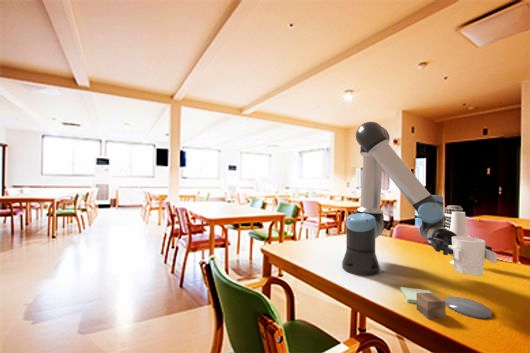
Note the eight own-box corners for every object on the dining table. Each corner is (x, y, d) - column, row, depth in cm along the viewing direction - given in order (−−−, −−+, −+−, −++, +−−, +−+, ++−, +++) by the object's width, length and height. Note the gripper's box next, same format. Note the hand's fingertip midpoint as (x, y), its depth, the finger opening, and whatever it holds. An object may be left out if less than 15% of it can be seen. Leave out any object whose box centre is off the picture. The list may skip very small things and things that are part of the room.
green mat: (407, 302, 76) (407, 299, 76) (400, 289, 85) (400, 286, 85) (440, 306, 74) (440, 303, 74) (429, 293, 82) (429, 290, 82)
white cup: (492, 278, 68) (492, 242, 68) (461, 275, 70) (460, 241, 70) (474, 268, 76) (474, 236, 76) (446, 266, 78) (446, 235, 78)
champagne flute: (467, 267, 108) (467, 213, 108) (448, 263, 112) (448, 212, 112) (468, 263, 113) (468, 212, 113) (450, 259, 117) (450, 210, 117)
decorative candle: (439, 248, 137) (439, 204, 137) (457, 249, 135) (457, 205, 136) (449, 253, 128) (449, 206, 128) (468, 254, 126) (468, 206, 127)
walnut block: (427, 319, 67) (427, 301, 67) (416, 309, 72) (416, 292, 72) (445, 319, 67) (445, 301, 67) (433, 309, 72) (433, 293, 72)
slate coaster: (454, 314, 69) (454, 312, 69) (438, 296, 80) (438, 294, 80) (501, 321, 66) (501, 318, 66) (478, 301, 77) (478, 299, 77)
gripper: (475, 250, 87) (522, 274, 65) (411, 246, 93) (435, 266, 71) (475, 229, 87) (522, 246, 66) (411, 226, 93) (435, 241, 71)
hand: (477, 256), depth 68 cm, fingers closed on white cup, 7 cm apart
